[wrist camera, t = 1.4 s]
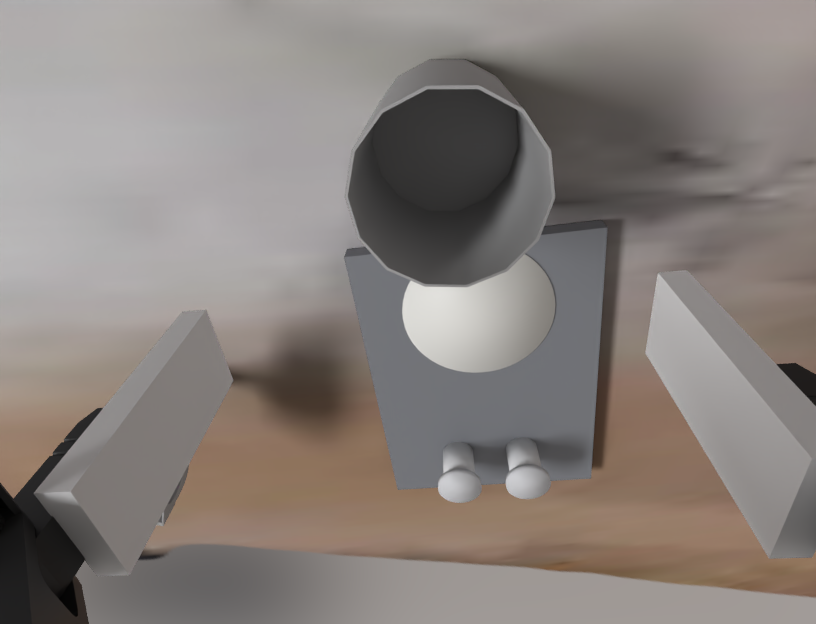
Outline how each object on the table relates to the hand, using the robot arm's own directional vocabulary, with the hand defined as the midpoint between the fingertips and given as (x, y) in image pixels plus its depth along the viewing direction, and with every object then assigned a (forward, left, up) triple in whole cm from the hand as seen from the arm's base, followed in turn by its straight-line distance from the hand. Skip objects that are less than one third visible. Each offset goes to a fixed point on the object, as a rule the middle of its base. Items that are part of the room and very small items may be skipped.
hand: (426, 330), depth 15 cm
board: (+15, +2, -17) cm, 23 cm away
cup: (-2, +1, -17) cm, 18 cm away
